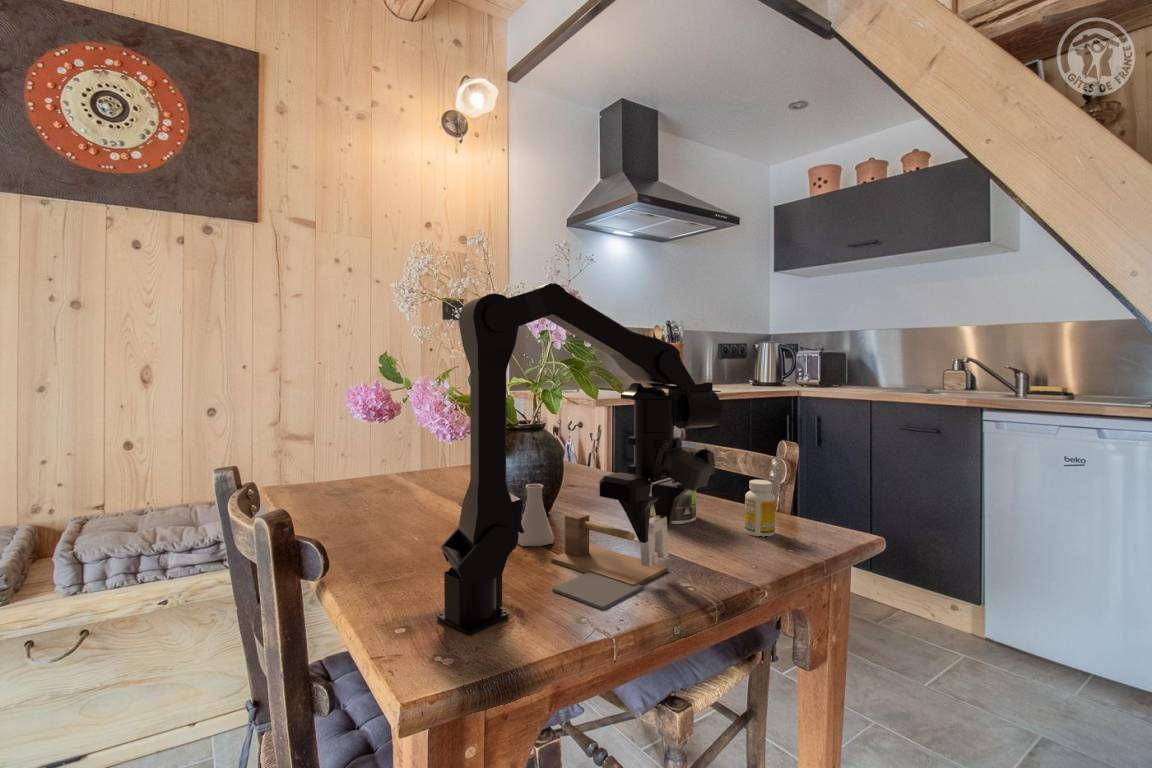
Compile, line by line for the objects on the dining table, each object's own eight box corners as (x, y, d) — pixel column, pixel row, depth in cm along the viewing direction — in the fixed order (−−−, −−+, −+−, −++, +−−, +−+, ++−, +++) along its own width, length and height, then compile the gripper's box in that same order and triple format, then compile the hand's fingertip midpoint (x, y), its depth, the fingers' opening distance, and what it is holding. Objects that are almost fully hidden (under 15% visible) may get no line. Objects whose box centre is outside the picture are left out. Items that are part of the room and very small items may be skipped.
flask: (517, 549, 94) (517, 491, 94) (511, 537, 101) (510, 482, 101) (559, 546, 96) (559, 488, 96) (549, 533, 103) (549, 480, 103)
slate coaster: (602, 609, 71) (602, 606, 71) (552, 590, 77) (552, 588, 77) (643, 588, 78) (643, 585, 78) (593, 572, 84) (593, 569, 84)
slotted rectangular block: (649, 567, 78) (647, 526, 78) (641, 565, 79) (639, 524, 79) (668, 555, 82) (666, 516, 82) (660, 553, 83) (658, 514, 82)
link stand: (633, 588, 77) (633, 540, 77) (551, 561, 88) (551, 519, 88) (668, 570, 84) (668, 526, 84) (588, 547, 95) (588, 508, 95)
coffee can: (698, 512, 117) (698, 446, 116) (694, 526, 107) (694, 454, 107) (649, 509, 120) (649, 444, 119) (641, 522, 110) (641, 451, 109)
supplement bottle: (742, 534, 102) (742, 483, 101) (747, 527, 107) (747, 477, 106) (773, 539, 99) (773, 485, 99) (776, 531, 104) (777, 480, 104)
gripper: (667, 442, 67) (666, 569, 68) (735, 428, 81) (734, 534, 82) (596, 435, 75) (596, 549, 75) (670, 423, 89) (669, 520, 89)
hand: (653, 537), depth 80 cm, fingers closed on slotted rectangular block, 5 cm apart
